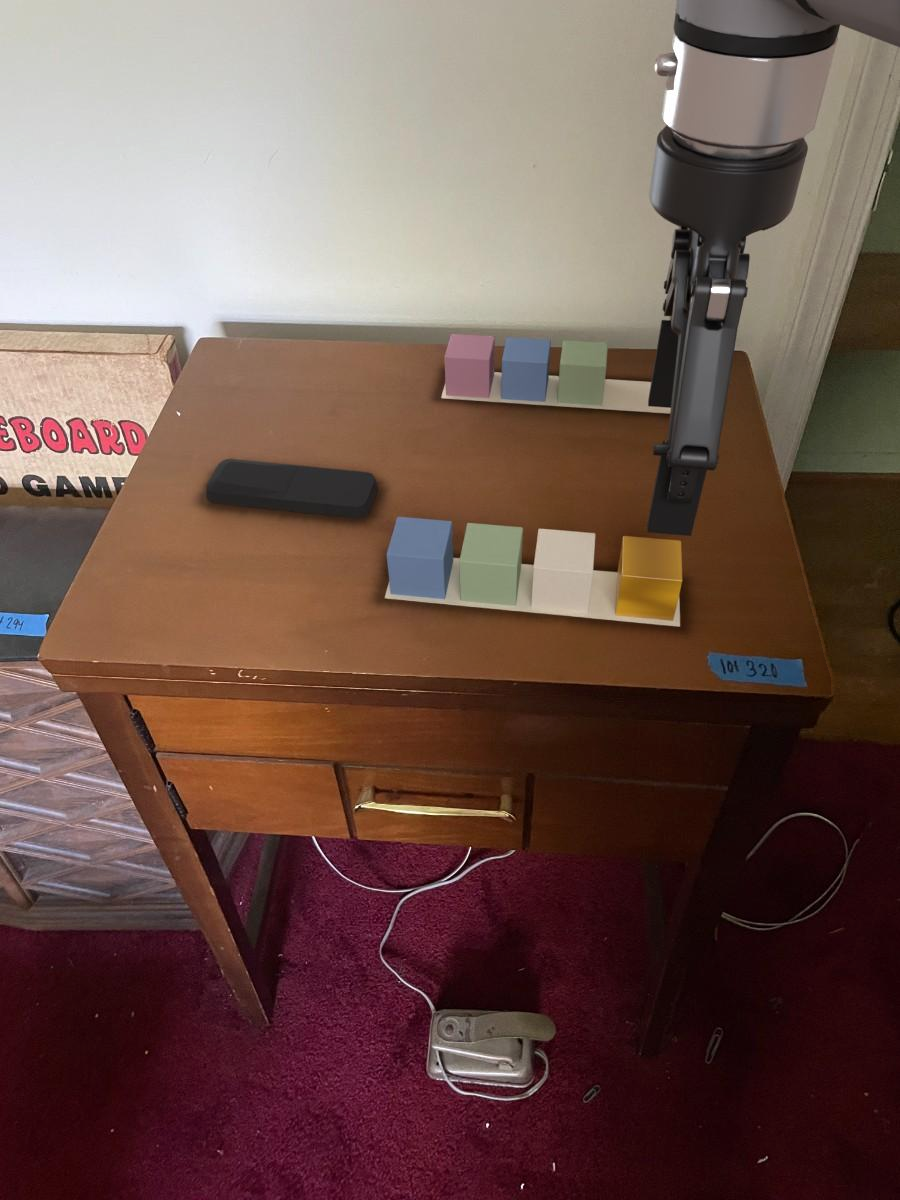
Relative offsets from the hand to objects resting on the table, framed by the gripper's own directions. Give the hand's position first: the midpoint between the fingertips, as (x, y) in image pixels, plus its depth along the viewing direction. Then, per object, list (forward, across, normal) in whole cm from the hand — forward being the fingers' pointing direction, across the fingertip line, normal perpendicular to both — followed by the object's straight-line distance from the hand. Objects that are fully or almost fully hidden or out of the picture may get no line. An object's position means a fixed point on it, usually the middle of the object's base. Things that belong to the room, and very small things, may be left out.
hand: (667, 463), depth 61 cm
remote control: (+14, -9, -31) cm, 35 cm away
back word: (+14, -28, -9) cm, 32 cm away
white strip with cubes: (+13, 0, -9) cm, 16 cm away
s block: (+13, 0, 0) cm, 13 cm away
